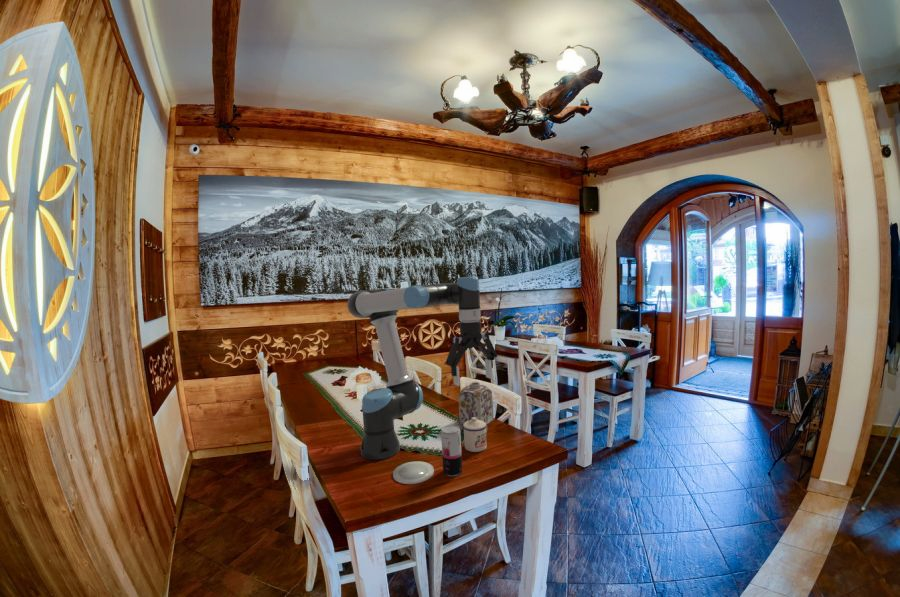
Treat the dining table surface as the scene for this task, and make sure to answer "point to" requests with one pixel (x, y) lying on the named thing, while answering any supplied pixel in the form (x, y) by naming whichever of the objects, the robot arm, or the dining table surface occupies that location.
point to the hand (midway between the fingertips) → (473, 381)
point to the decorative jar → (475, 403)
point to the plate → (413, 472)
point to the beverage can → (451, 450)
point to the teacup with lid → (475, 435)
